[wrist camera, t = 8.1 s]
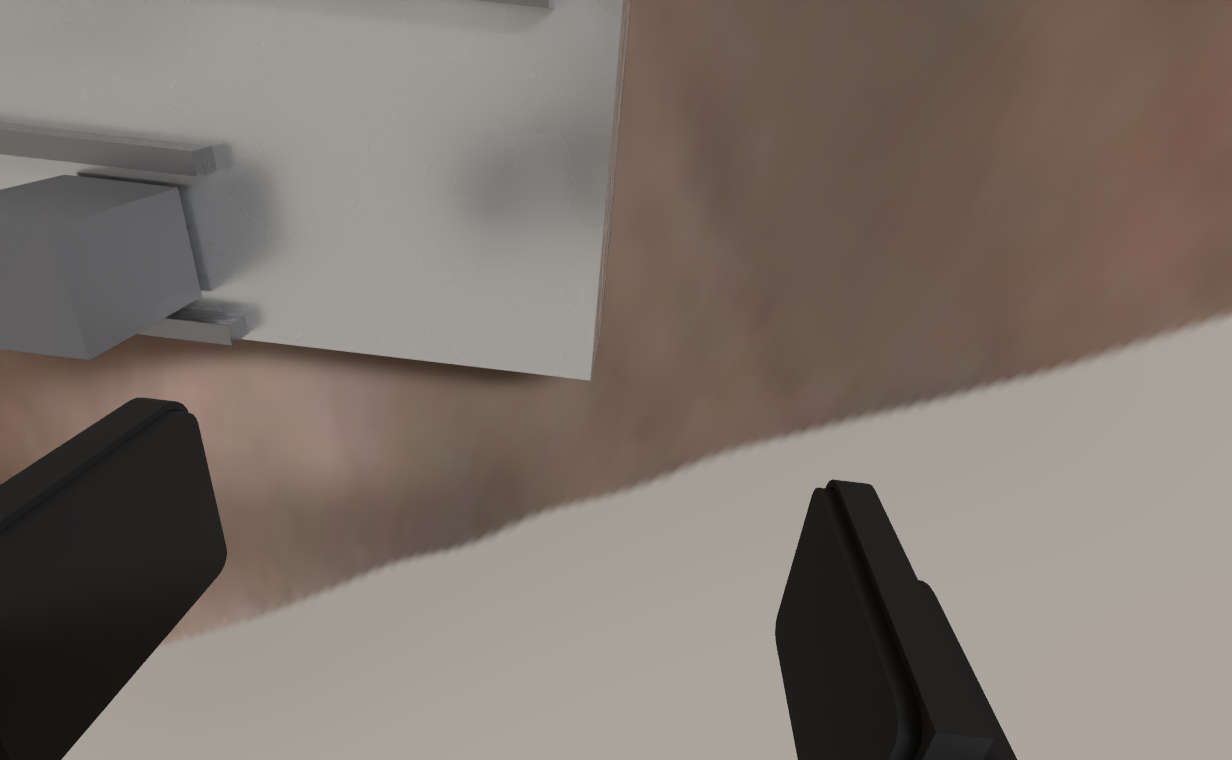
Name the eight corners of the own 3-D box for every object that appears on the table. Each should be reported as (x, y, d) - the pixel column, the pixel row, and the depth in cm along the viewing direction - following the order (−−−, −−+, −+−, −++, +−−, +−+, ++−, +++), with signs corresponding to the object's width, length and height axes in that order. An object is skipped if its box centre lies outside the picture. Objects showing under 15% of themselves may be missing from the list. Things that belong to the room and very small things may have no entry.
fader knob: (64, 174, 17) (-97, 212, 13) (177, 187, 17) (47, 228, 13) (96, 284, 18) (-41, 345, 15) (201, 296, 18) (89, 360, 15)
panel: (-559, -465, 14) (-1376, -796, 9) (662, -347, 14) (657, -614, 8) (-197, 244, 22) (-502, 319, 16) (599, 337, 21) (574, 448, 16)
